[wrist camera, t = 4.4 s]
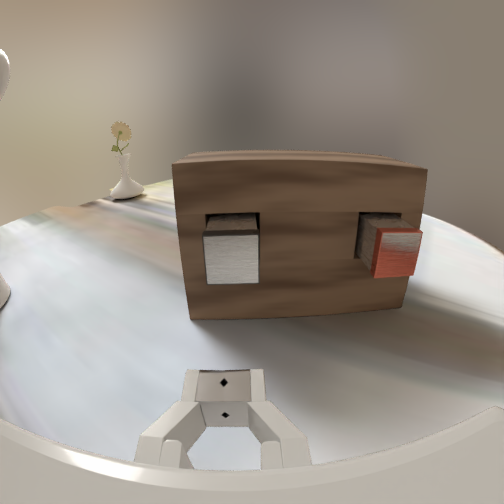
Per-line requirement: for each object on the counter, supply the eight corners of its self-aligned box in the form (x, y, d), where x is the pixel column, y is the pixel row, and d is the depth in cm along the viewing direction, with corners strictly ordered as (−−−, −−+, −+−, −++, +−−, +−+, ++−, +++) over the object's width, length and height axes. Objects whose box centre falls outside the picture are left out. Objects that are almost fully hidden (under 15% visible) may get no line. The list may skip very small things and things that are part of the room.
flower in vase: (151, 194, 86) (145, 116, 76) (119, 203, 78) (112, 119, 68) (132, 191, 93) (126, 121, 83) (103, 199, 85) (96, 125, 75)
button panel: (401, 307, 30) (427, 169, 24) (190, 319, 30) (171, 163, 23) (368, 265, 40) (380, 155, 34) (202, 270, 40) (192, 152, 33)
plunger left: (259, 283, 23) (259, 233, 21) (206, 285, 23) (201, 235, 21) (255, 244, 30) (254, 205, 28) (214, 245, 30) (212, 206, 28)
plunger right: (413, 275, 23) (422, 232, 21) (374, 278, 23) (382, 232, 21) (379, 241, 30) (384, 205, 29) (345, 242, 30) (349, 204, 29)
